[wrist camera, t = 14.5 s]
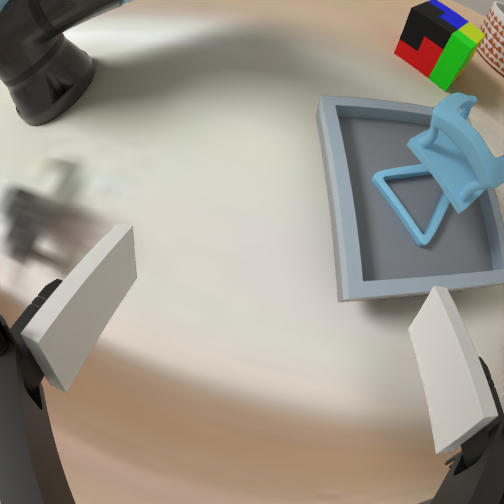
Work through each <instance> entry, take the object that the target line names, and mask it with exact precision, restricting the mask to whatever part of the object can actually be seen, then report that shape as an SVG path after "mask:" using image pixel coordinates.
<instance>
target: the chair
mask: <svg viewBox="0 0 504 504" xmlns="http://www.w3.org/2000/svg"><path fill="white" fill-rule="evenodd" d="M476 102H477V98H476V97H475V96H473V95H471V96H469V95H466V94H463V93H459V92H457V93H453V94H450V95H449V96H447V97H446V98H444V99H443V100H442V101H441V102H440V103H439V104H438V105H437V106H436V107H435V108H434V110H433V113H432V120H431V125H430V129H428V130H426V131H424V132H422V133H420V134H418V135H417V136H415V137H413V138H411V139H410V141H409V142H408V143H407V146H408V147H409V149H410V150H411V151H412V152H413V153H414V155H415V156H416V157H417V158H418V159H419V160H420V162H421V163H422V164H418V165H411V166H405V167H398V168H392V169H387V170H383V171H380V172H377V173H375V175H374V176H373V178H372V182H373V184H374V185H375V186H376V187H377V189H378V190H379V191H380V193H381V194H382V195H383V197H384V198H385V199H386V201H387V202H388V203H389V205H390V206H391V207H392V209H393V210H394V212H395V213H396V214H397V216H398V217H399V219H400V220H401V221H402V223H403V224H404V226H405V227H406V229H407V230H408V231H409V233H410V234H411V236H412V237H413V239H414V240H415V242H416V243H417V245H418V246H419V247H423V246H425V245H427V244H428V243H429V242H430V240H431V239H432V237H433V236H434V234H435V232H436V230H437V228H438V226H439V224H440V222H441V220H442V218H443V216H444V214H445V212H446V209H447V207H448V205H449V203H451V204H452V206H453V207H454V209H455V210H456V212H457V213H458V214H459V213H461V212H462V211H464V210H465V209H466V208H467V207H468V206H469V205H470V204H471V203H472V202H473V201H474V200H475V199H476V198H477V197H478V196H480V195H481V194H482V193H483V192H484V191H485V190H486V189H487V188H495V187H498V186H499V185H501V184H502V183H504V156H501V157H499V158H495V157H494V156H493V155H492V153H491V152H490V150H489V148H488V147H487V145H486V143H485V142H484V140H483V139H482V137H481V136H480V134H479V133H478V132H477V131H476V130H475V129H474V128H473V127H472V126H471V125H470V124H469V123H468V122H467V121H466V119H467V117H468V115H469V113H470V110H471V108H472V106H473V105H474V104H475V103H476ZM462 107H463V108H462ZM461 108H462V110H461V111H460V113H459V109H461ZM429 174H432V175H433V177H434V178H435V179H436V181H437V182H438V184H439V185H440V187H441V188H442V190H443V193H442V195H441V197H440V200H439V202H438V204H437V206H436V208H435V211H434V213H433V215H432V217H431V219H430V222H429V224H428V226H427V228H426V230H425V232H424V234H422V233H421V231H420V230H419V228H418V227H417V225H416V224H415V222H414V221H413V219H412V218H411V216H410V215H409V213H408V212H407V211H406V209H405V208H404V206H403V205H402V204H401V202H400V201H399V199H398V198H397V197H396V195H395V194H394V193H393V191H392V190H391V189H390V187H389V186H388V185H387V183H386V182H385V180H391V179H399V178H407V177H415V176H422V175H429Z"/></svg>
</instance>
